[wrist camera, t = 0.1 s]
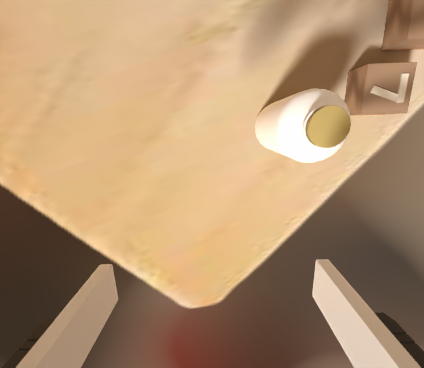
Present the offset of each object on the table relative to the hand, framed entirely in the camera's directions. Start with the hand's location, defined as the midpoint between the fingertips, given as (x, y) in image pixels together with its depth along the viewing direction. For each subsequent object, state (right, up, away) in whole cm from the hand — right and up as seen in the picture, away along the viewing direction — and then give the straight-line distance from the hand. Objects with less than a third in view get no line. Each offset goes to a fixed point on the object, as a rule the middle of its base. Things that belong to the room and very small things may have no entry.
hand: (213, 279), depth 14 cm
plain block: (+31, +32, +20) cm, 49 cm away
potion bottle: (+12, +16, +25) cm, 32 cm away
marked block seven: (+26, +22, +23) cm, 41 cm away
